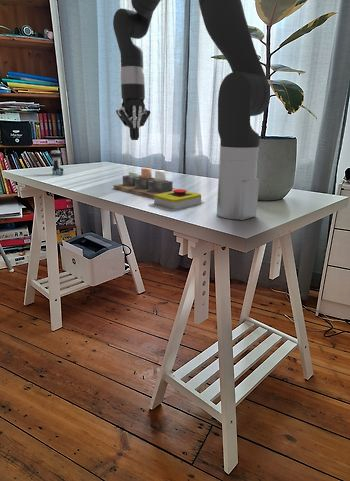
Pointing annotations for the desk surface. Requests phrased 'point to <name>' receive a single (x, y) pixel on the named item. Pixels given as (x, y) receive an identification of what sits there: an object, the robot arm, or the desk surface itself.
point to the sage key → (133, 174)
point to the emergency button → (176, 200)
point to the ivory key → (160, 176)
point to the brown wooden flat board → (144, 186)
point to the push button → (56, 162)
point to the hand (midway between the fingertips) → (134, 139)
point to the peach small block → (146, 173)
